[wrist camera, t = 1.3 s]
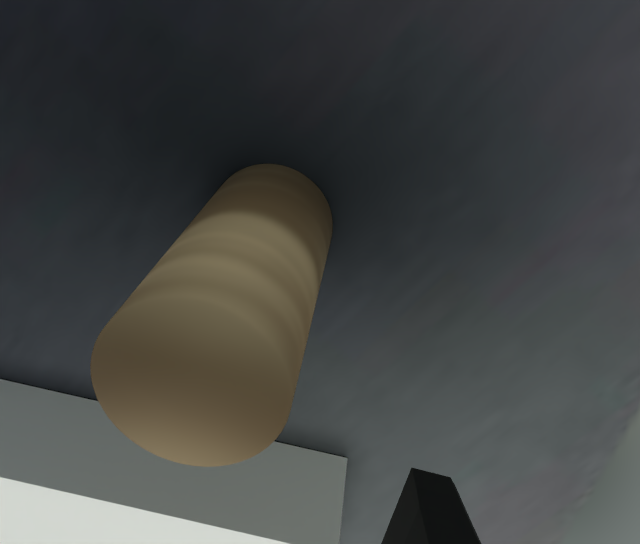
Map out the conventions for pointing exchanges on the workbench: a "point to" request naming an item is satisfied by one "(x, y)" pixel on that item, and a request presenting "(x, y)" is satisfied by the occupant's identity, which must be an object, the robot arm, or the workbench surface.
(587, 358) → the workbench surface
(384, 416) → the workbench surface
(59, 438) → the socket block
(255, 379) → the peg
